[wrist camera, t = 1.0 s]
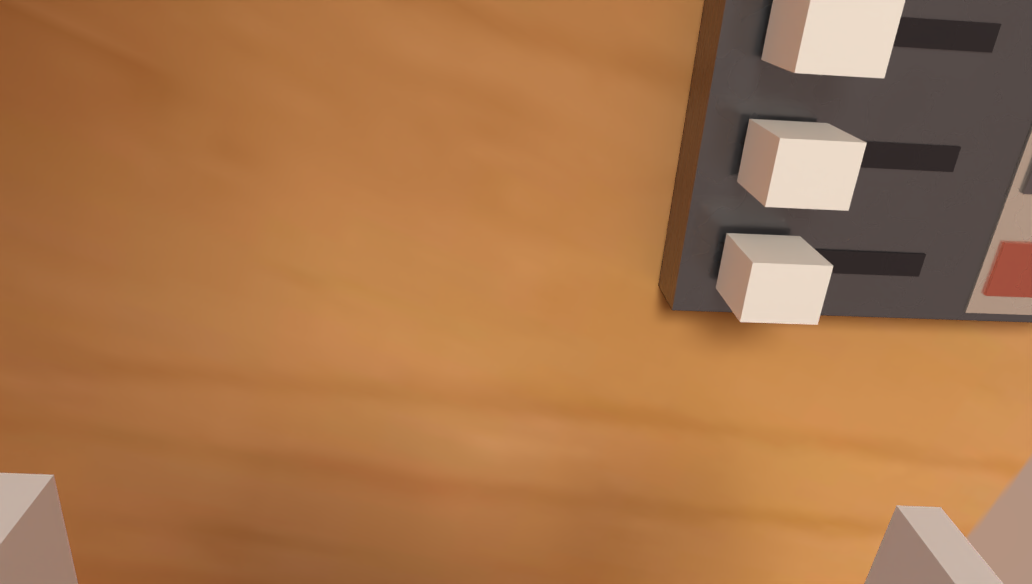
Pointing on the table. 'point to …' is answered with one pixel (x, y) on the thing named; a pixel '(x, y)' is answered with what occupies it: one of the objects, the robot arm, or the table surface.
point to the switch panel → (874, 164)
